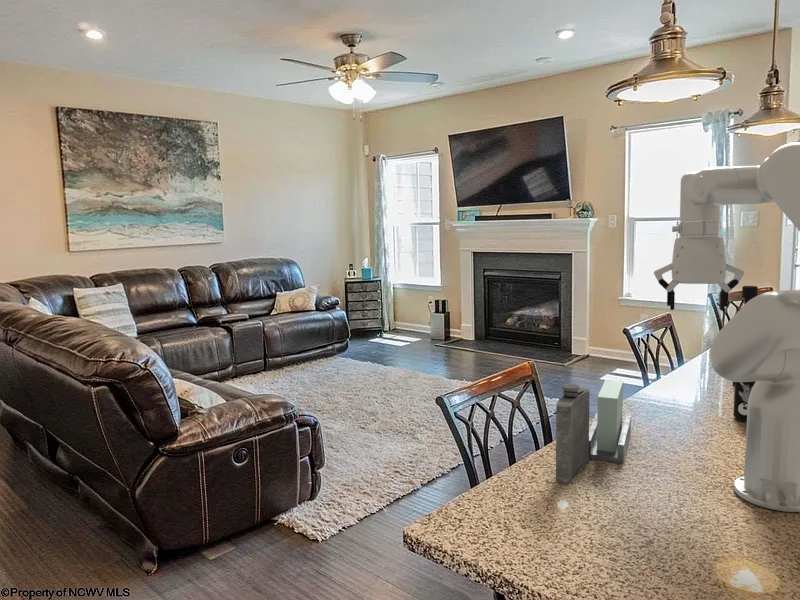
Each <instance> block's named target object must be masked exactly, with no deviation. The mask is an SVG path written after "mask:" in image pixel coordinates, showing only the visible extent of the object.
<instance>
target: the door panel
mask: <svg viewBox="0 0 800 600" xmlns="http://www.w3.org/2000/svg"><path fill="white" fill-rule="evenodd" d="M623 391H624V381H621V380H609V379H608V380H607V379H604V382H603V384H602V386H601V389H600V390H599V393H598V395H597V410H596V412H597V450H602V451H609V452H616V451H617V447H618V442H619V438H620V435H621V431H622V426H623V401H624V399H623V396H624V394H623Z"/></svg>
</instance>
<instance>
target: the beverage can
mask: <svg viewBox="0 0 800 600" xmlns="http://www.w3.org/2000/svg"><path fill="white" fill-rule="evenodd" d="M755 382H756V381H754V382H735V386H734V391H733V393H734V395H733V417H735V419H736V420H738V421H739V422H743V423H746V424H747V410H748V399H749V395H750V392H751V390H752V388H753V386H754V384H755Z"/></svg>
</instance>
